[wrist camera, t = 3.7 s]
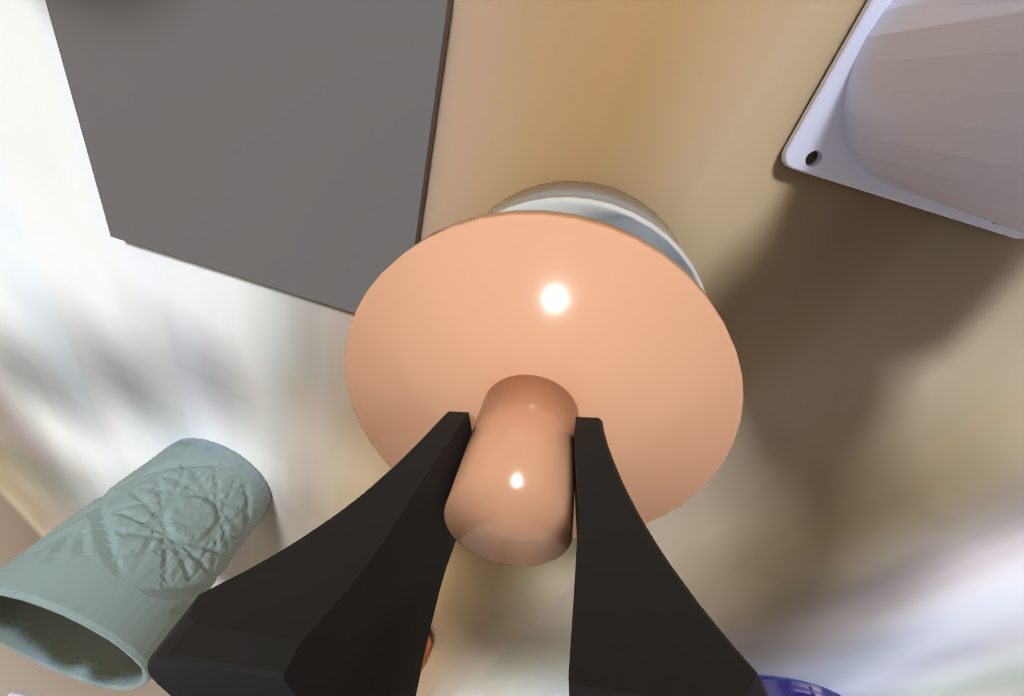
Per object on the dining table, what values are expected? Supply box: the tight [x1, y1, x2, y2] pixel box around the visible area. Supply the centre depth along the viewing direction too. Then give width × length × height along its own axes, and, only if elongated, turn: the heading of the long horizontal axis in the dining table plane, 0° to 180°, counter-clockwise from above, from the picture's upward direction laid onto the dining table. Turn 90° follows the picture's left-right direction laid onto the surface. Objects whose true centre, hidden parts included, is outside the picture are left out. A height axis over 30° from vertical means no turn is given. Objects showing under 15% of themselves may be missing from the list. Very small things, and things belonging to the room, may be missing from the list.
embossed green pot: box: [0, 438, 271, 690], centre depth 28 cm, size 10×10×12 cm
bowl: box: [487, 181, 705, 292], centre depth 19 cm, size 11×11×4 cm
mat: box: [45, 0, 453, 313], centre depth 19 cm, size 16×14×1 cm
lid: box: [345, 210, 743, 566], centre depth 12 cm, size 12×12×5 cm
